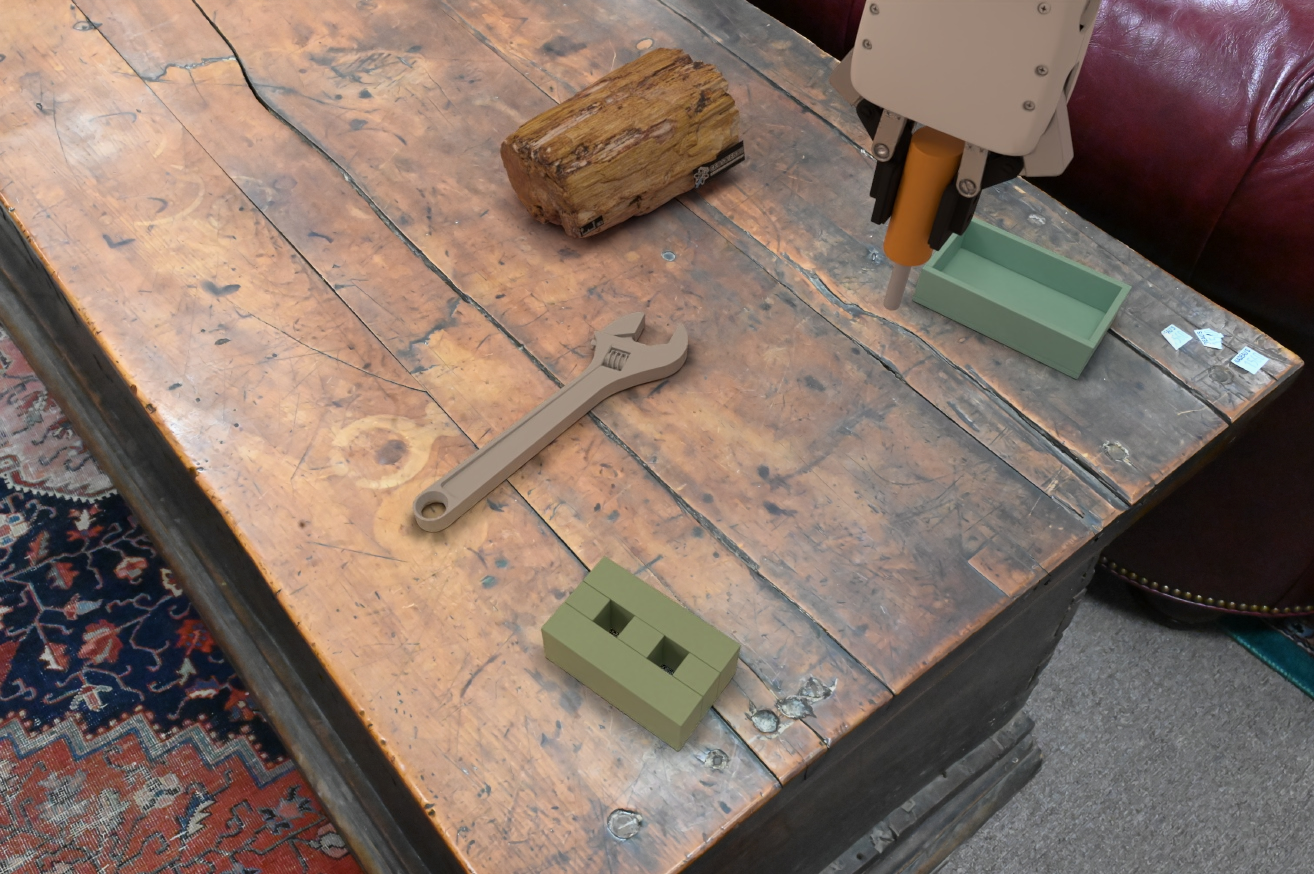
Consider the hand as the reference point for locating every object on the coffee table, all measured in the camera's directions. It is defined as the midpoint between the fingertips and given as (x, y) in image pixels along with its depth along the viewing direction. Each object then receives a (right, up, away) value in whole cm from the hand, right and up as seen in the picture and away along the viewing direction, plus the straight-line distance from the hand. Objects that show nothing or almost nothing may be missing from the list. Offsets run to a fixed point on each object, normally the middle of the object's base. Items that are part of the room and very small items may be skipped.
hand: (916, 221), depth 57 cm
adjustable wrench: (-22, -11, +18) cm, 31 cm away
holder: (-16, -26, +6) cm, 31 cm away
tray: (+14, -2, +26) cm, 30 cm away
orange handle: (0, -4, +5) cm, 7 cm away
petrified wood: (-18, +10, +34) cm, 40 cm away
